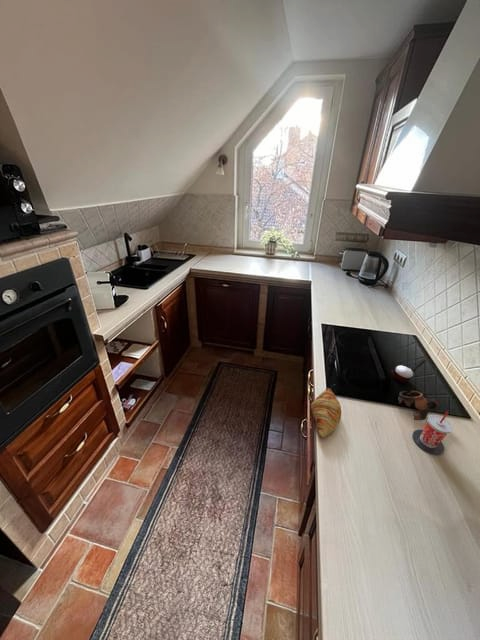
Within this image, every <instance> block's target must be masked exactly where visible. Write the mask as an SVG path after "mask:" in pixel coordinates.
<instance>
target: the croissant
mask: <svg viewBox="0 0 480 640" xmlns="http://www.w3.org/2000/svg"><path fill="white" fill-rule="evenodd" d="M310 409H311V411H312V412H311V413H312V416H313V418H314V420H315V426H316V427H317V429H318V430H317V431H318V434H319V437H321V438H322V439H323V438H327V437H328V436H329V435H330V434H332V433H333V431H335V430H336V428H337V425H338V424H339V423H340V422H341V419H342V406H341V403H340V401H339V400H338V398H337V396H335V393H334V392H333V391H332V388H329V387H327V388H326V389H325V391H323V392H321V393H320V394H319V396H317V397H315V399H314V400H313V401H312V402H311V403H310Z"/></svg>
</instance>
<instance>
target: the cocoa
mask: <svg viewBox="0 0 480 640" xmlns="http://www.w3.org/2000/svg"><path fill="white" fill-rule="evenodd" d="M427 361H428V360H427V358H426V357H424V358H422V359H421V360H420V361H419V362H418V363H417V364H415V365H414V366H413V367H412V368H410V367H407V366H404V365H402V364H401V365H397V366H396V367H395V368H394V370H390V375H391V376H392V377H393V378H394V379H395V380H396V381H398V382H399V383H407V382H409V381H410V380H411V379H412V378H413V376H414V372H415V371H416V370H417V369H418V368H420V367H421V366H422V365H423V364H424V363H426V362H427Z"/></svg>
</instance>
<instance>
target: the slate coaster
mask: <svg viewBox="0 0 480 640" xmlns="http://www.w3.org/2000/svg"><path fill="white" fill-rule="evenodd" d="M422 432H423V429H415V430H414V431H413V432H412V440H413V442H414V443H415V445H416V446H417V447H418V448H419V449H421V450H422V451H424V452H425V453H427V454H430V455H433V456H440V455H442V454H444V452H445V445H444V443H443V442H442V441H441V442H440V443H439V444H438V445H437V446H436V447H435V448H430V447H427V446H426V445H424V444H423V443H422V442H421V440H420V436H421V434H422Z"/></svg>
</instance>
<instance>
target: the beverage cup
mask: <svg viewBox="0 0 480 640" xmlns="http://www.w3.org/2000/svg"><path fill="white" fill-rule="evenodd" d="M448 414H449V411H448V410H447V411H445V413H444V414H443V416H441V415H438V414H430V415H428V416H427V421H426V423H425V426H424V427H423V429H422V430H423V432H422V434H421V436H420V440H421V442H422V443H423V444H424V445H426V446H427V447H430V448H435V447H436V446H437V445H438V444H439V443H440V442H442V441H443V440H444V438H445V437H446V436H447V435H448V434H450V433H451V432H452V431H453V425H452V424H451V422H450V421H449V420H448V419H446V417H448Z"/></svg>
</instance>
